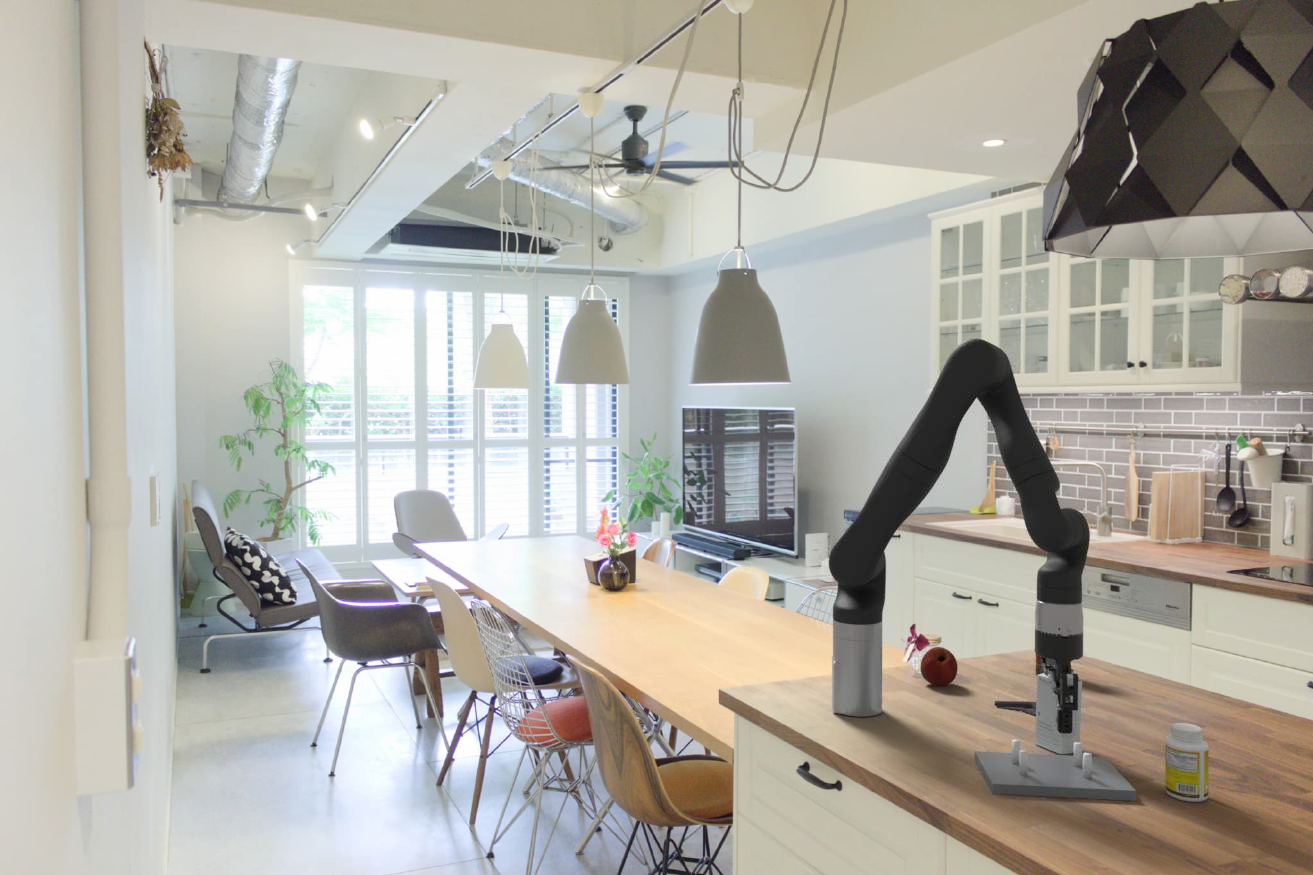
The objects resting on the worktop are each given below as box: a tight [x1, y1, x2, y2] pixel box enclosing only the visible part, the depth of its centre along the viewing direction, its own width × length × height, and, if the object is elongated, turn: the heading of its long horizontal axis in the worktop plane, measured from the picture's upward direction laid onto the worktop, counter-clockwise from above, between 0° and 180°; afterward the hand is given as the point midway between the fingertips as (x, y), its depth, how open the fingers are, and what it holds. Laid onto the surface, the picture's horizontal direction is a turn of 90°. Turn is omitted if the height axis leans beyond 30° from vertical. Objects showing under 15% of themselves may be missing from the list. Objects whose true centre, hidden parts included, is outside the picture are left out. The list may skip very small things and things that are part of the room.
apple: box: [919, 646, 959, 687], centre depth 201 cm, size 7×8×8 cm
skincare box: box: [1034, 673, 1083, 755], centre depth 162 cm, size 6×4×12 cm
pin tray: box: [974, 738, 1137, 802], centre depth 148 cm, size 20×14×5 cm
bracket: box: [994, 700, 1036, 717], centre depth 179 cm, size 14×15×3 cm
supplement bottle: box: [1164, 722, 1209, 803], centre depth 142 cm, size 6×6×10 cm
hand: (1058, 725), depth 162 cm, fingers open, 7 cm apart
